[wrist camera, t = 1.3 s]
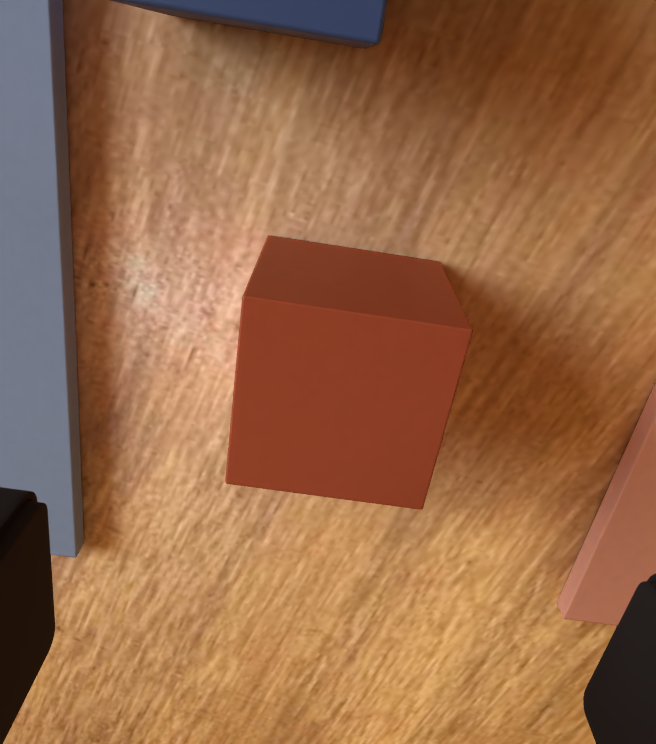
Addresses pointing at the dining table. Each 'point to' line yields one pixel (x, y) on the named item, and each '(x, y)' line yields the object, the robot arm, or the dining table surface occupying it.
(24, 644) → the robot arm
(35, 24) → the blue mat
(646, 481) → the terracotta mat
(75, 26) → the dining table surface
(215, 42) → the dining table surface
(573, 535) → the dining table surface
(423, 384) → the terracotta block
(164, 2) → the blue block
